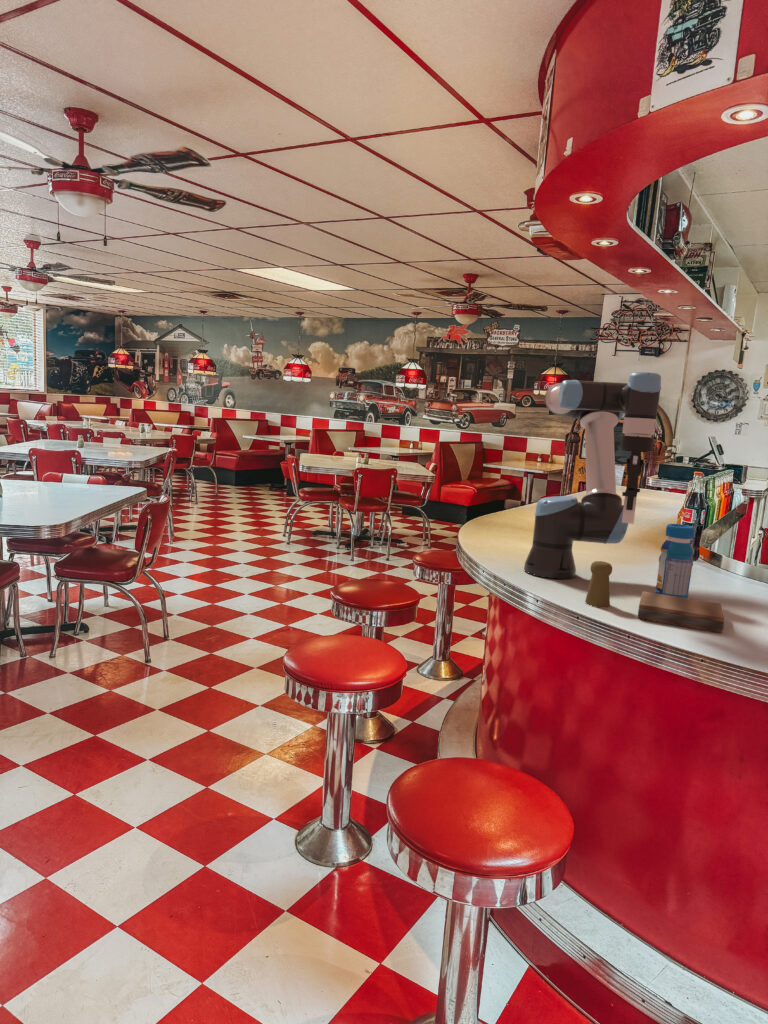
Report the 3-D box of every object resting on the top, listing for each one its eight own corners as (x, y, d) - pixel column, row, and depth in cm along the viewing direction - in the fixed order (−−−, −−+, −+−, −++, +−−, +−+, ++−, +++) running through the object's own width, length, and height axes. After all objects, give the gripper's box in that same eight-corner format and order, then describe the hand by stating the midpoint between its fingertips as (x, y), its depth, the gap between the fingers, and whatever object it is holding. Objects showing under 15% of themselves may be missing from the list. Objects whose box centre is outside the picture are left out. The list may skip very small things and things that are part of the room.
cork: (609, 602, 166) (614, 561, 164) (609, 609, 160) (614, 565, 158) (585, 599, 167) (589, 558, 166) (584, 605, 162) (589, 562, 160)
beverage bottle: (673, 604, 168) (683, 529, 165) (647, 595, 176) (656, 523, 173) (695, 601, 172) (705, 528, 169) (668, 593, 180) (677, 522, 177)
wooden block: (637, 619, 152) (639, 605, 152) (640, 604, 166) (642, 591, 165) (722, 634, 145) (724, 619, 145) (718, 617, 159) (720, 603, 158)
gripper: (655, 436, 148) (644, 527, 151) (653, 436, 171) (644, 515, 174) (620, 434, 150) (610, 524, 153) (623, 434, 173) (614, 512, 176)
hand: (628, 519), depth 164 cm, fingers open, 13 cm apart
